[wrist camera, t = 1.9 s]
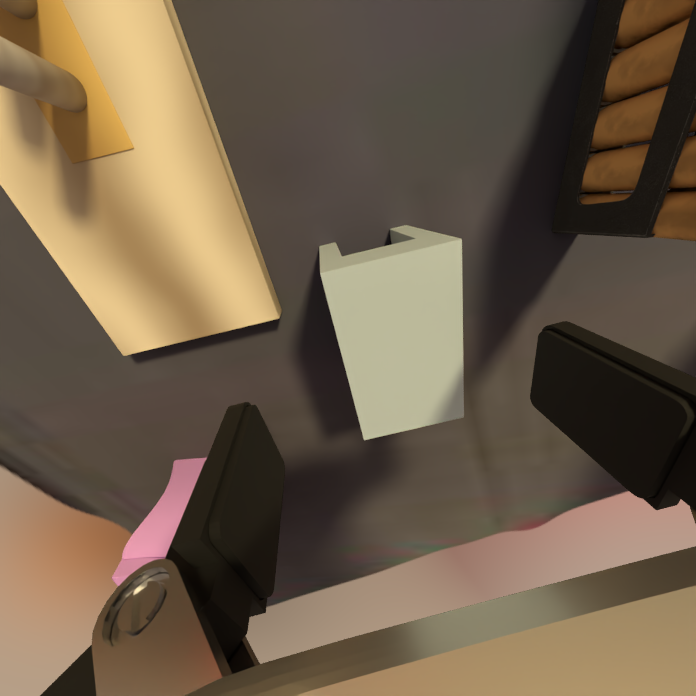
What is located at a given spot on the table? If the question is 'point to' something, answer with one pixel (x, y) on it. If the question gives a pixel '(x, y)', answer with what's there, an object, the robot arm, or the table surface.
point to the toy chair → (160, 520)
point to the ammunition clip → (634, 125)
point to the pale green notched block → (400, 328)
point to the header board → (126, 170)
